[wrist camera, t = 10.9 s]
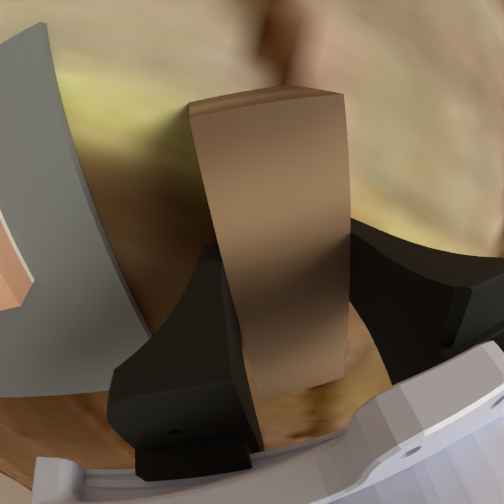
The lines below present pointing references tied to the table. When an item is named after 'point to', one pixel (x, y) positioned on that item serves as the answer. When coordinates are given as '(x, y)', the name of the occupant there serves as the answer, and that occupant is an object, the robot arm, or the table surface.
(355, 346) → the table surface
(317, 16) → the table surface
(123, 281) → the slate mat
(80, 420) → the table surface
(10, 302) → the tile
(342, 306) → the brown wooden block
